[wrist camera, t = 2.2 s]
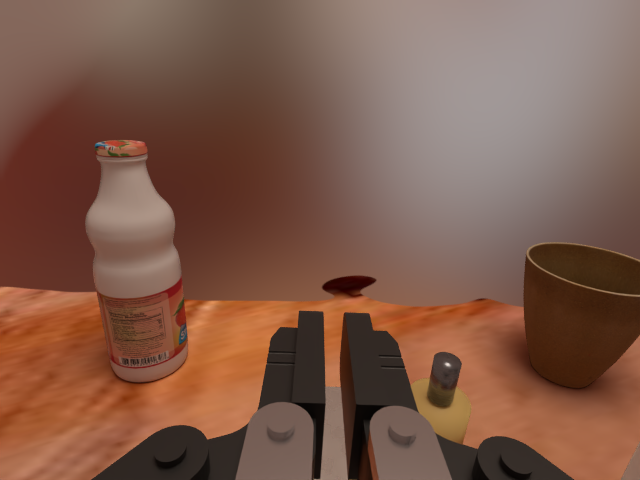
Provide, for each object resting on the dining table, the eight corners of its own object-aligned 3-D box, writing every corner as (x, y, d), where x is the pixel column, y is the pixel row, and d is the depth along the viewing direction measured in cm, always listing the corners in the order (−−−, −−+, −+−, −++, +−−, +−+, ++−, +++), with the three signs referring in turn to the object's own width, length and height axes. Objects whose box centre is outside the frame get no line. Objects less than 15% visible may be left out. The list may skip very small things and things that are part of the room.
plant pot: (579, 338, 60) (613, 243, 54) (653, 414, 47) (710, 298, 41) (483, 333, 60) (507, 238, 54) (529, 407, 47) (568, 291, 41)
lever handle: (420, 408, 36) (428, 369, 34) (470, 441, 33) (481, 400, 31) (244, 584, 23) (242, 536, 21) (300, 667, 20) (302, 618, 18)
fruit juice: (99, 359, 51) (54, 140, 40) (167, 329, 57) (143, 134, 47) (131, 397, 45) (89, 154, 35) (202, 359, 52) (185, 145, 41)
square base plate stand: (416, 396, 48) (437, 280, 41) (503, 673, 25) (576, 511, 19) (277, 391, 47) (278, 273, 41) (240, 668, 25) (231, 502, 19)
